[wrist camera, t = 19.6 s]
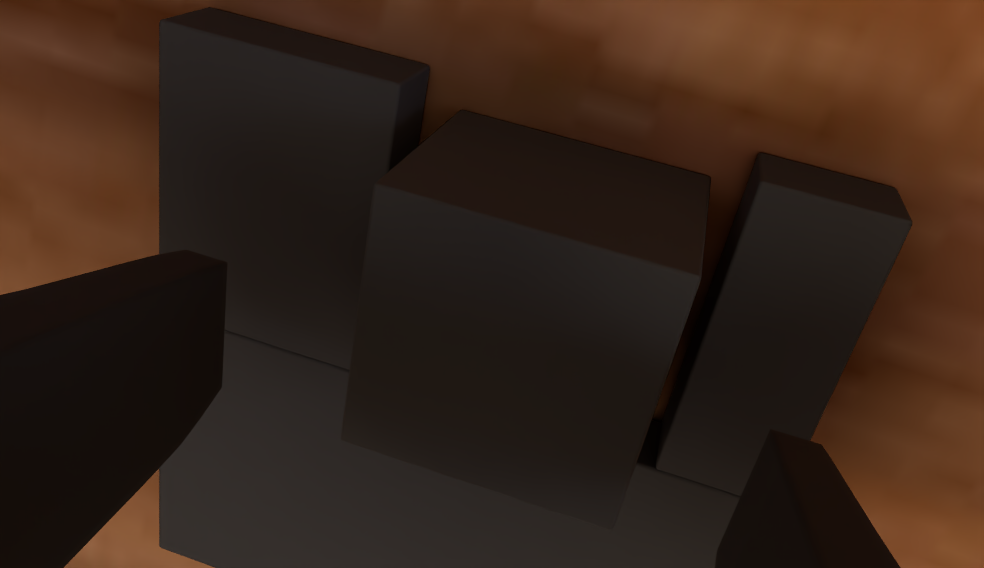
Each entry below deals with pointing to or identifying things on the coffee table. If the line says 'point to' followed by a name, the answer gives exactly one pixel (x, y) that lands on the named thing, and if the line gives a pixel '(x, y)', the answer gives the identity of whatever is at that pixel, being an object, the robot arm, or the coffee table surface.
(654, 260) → the black cube
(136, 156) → the coffee table surface
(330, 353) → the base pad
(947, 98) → the coffee table surface
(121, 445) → the robot arm
